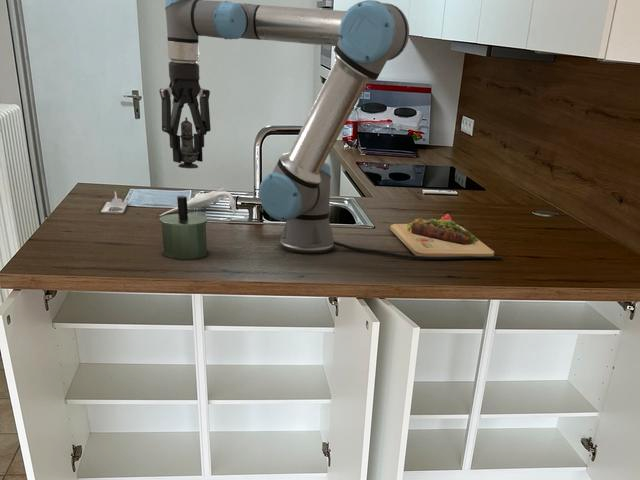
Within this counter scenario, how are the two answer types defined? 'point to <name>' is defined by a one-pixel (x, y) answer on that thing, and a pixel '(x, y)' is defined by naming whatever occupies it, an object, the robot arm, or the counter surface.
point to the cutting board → (439, 238)
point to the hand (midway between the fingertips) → (188, 161)
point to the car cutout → (115, 206)
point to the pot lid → (182, 216)
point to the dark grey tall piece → (187, 146)
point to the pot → (184, 241)
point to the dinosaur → (208, 200)
